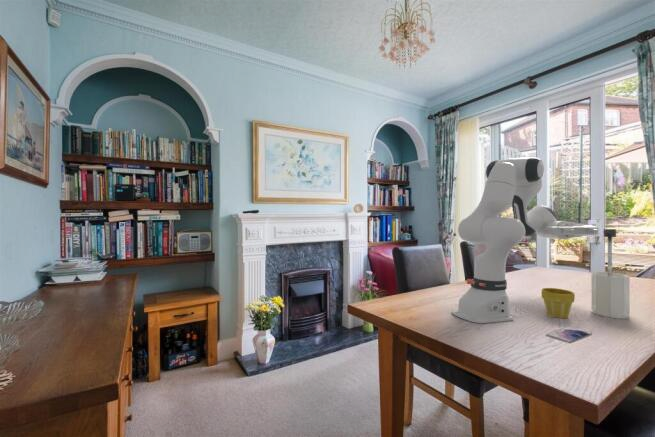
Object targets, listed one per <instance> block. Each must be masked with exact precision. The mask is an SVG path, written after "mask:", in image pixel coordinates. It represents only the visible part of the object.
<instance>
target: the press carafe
mask: <svg viewBox="0 0 655 437" xmlns="http://www.w3.org/2000/svg"><path fill="white" fill-rule="evenodd" d="M590 274H591V275H590V276H591V284H590V285H591V310H592V313H593V314H594V315H597V316H600V317H604V318H609V319H618V320H627V319H629V318H630V317H629V316H630V302H631V301H630V293H631V292H630V287H631V286H630V285H631V284H630V279H631V278H630V275H626V274H623V273H615V272H612V276H608V271H605V272H604V271H594V272H593V271H592V272H591V273H590Z"/></svg>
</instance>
